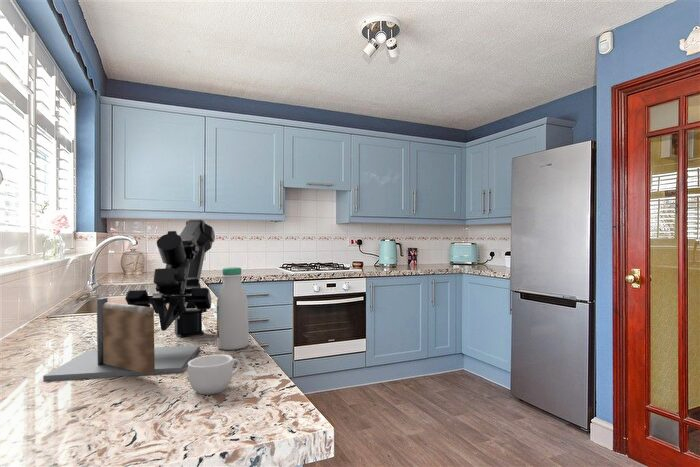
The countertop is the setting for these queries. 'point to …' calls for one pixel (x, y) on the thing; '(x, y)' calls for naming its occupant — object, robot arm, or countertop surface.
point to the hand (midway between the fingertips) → (163, 329)
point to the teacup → (211, 373)
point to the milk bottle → (232, 312)
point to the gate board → (89, 368)
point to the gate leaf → (128, 337)
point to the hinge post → (100, 329)
